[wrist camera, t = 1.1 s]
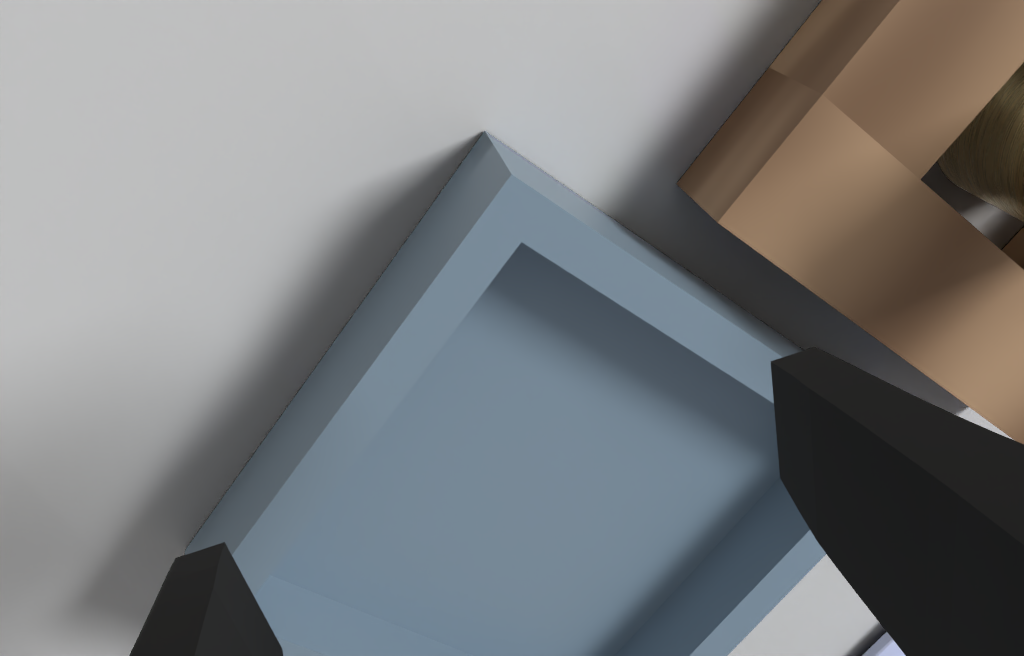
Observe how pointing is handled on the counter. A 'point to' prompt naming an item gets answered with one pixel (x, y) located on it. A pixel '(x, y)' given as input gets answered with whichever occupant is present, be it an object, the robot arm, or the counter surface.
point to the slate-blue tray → (524, 449)
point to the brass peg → (993, 150)
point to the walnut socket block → (882, 184)
